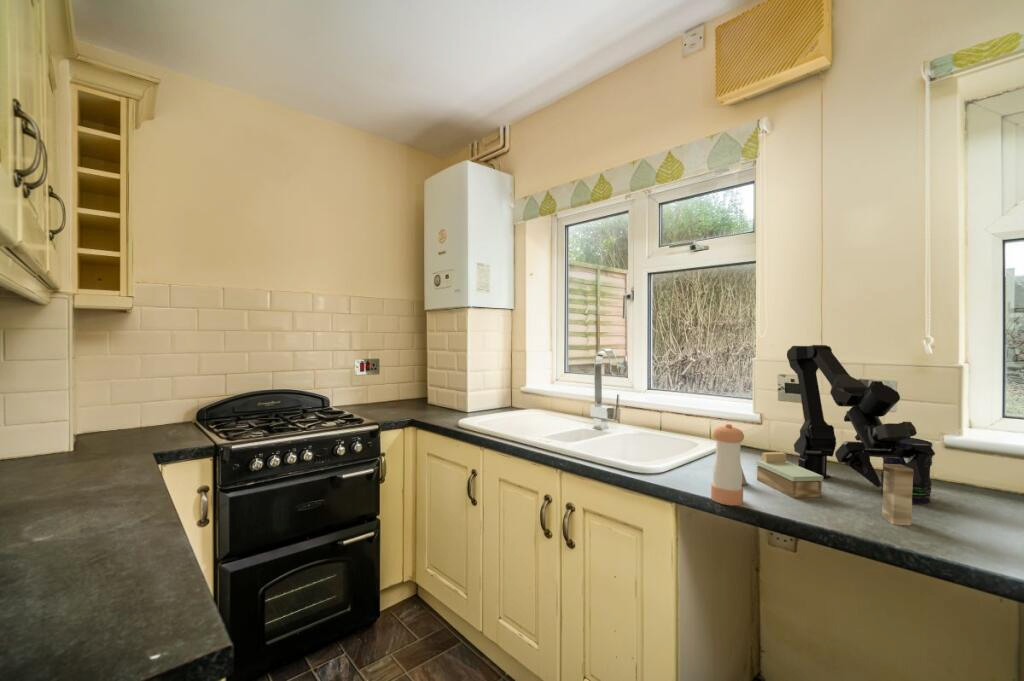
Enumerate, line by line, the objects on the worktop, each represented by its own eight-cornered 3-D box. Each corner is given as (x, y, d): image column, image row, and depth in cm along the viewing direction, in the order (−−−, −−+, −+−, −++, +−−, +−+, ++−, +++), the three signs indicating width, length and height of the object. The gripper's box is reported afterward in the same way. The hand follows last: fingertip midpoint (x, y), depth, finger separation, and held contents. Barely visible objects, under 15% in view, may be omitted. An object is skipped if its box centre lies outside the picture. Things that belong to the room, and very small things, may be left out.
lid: (783, 464, 131) (783, 451, 130) (823, 480, 116) (823, 466, 116) (756, 464, 130) (756, 451, 130) (793, 481, 115) (793, 467, 115)
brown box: (881, 517, 104) (883, 463, 104) (899, 518, 104) (901, 464, 103) (893, 524, 100) (895, 468, 100) (911, 525, 100) (913, 469, 100)
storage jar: (931, 497, 117) (933, 440, 117) (931, 508, 110) (933, 447, 110) (881, 488, 124) (883, 433, 124) (878, 497, 117) (880, 440, 117)
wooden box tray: (782, 479, 130) (783, 465, 130) (821, 496, 117) (821, 481, 116) (756, 479, 130) (757, 465, 129) (792, 497, 116) (793, 482, 116)
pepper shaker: (706, 500, 113) (708, 424, 113) (716, 492, 119) (718, 420, 118) (737, 508, 108) (739, 428, 108) (746, 500, 114) (748, 424, 113)
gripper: (844, 407, 106) (875, 468, 95) (930, 409, 104) (972, 472, 94) (823, 433, 114) (850, 491, 103) (902, 435, 112) (938, 495, 102)
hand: (901, 487), depth 100 cm, fingers open, 9 cm apart
